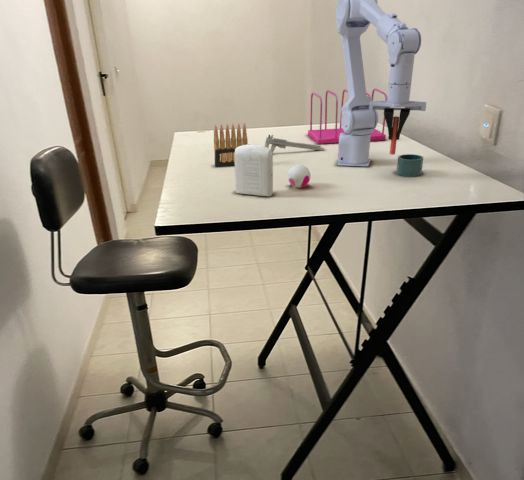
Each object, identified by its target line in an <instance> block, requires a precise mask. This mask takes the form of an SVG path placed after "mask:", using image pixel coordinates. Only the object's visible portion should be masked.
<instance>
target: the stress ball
mask: <svg viewBox="0 0 524 480" xmlns="http://www.w3.org/2000/svg"><path fill="white" fill-rule="evenodd" d="M287 180H288V183H289V187H291V186H292V187H294V188H296V189H302V188H310V186H309V185H308V184H309V183H310V181H311V171H310V169H309V168H308V167H307V166H306V165H304V164H295V165H293V166H292V167H290V169H289V170H288V173H287Z"/></svg>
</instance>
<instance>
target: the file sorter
mask: <svg viewBox="0 0 524 480" xmlns="http://www.w3.org/2000/svg"><path fill="white" fill-rule="evenodd" d="M345 92H346V93H347V94H348V89H347V88H344V89H343V90H342V95H341V105H340V109H341V108H342V107H343V105H344V98H345ZM375 92H378V93H380V94H382V95H384V101H387V95H388V93H386V92H384V91H383V90H380V89H378V88H377V87H375V88H373V89H372V92H371V94H370V93H369V92H367V91H366V95H367V96H368V97H369V98H370V99H372V100H373V101H374V95H375ZM328 94H331V95H333V96H334V97H335V124H334V125H335V127H334V128H328V127H327V124H328V123H327V122H328V121H327V120H328ZM314 96H315V97H317V98H318V99H319V102H320V106H319V107H320V108H319V110H320V111H319V129H313V97H314ZM324 100H325V104H324V128H322V125H323V124H322V123H323V99H322V96H321V95H319V94H318V93H316V92H314V91H313V92H311V94H310V113H309V114H310V115H309V116H310V121H309V128H310V129H308V130H307V135H308V136H309V137H310V138H311V139H312V140H313V141H314V142H315V143H316V144H317V145H322V144H337V143H339V136H340V133H345V132H344V130H343V128H342V126H341V117H342V111H341V110H340V117H339V118H340V120H339V128H338V113H339V111H338V109H339V105H338V104H339V99H338V95H337V93H335V92H333V91H331V90H329V89H328V90H326V91H325V98H324ZM385 127H386V120H385V117H384V116H383V121H382V129H381V130H382V131H379V130H378V129H376V128H375V129H374V130H373V133H371V137H370V142H372V141H373V142H374V141H386V140H387V134H385Z"/></svg>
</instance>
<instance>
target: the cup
mask: <svg viewBox="0 0 524 480" xmlns="http://www.w3.org/2000/svg"><path fill="white" fill-rule="evenodd" d="M423 164H424V156H422V155H419V154H414V153H413V154H412V153H407V154H406V153H405V154H400V155H398V156H397V163H396V174H397V175H399V176H402V177H418V176H421V175H422V173H423V172H422V171H423Z"/></svg>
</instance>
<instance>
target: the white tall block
mask: <svg viewBox="0 0 524 480" xmlns="http://www.w3.org/2000/svg"><path fill="white" fill-rule="evenodd" d="M273 157H274V154H273V153H272V150H271V148H270V147H269V148H267V147H265V145H262V144H261V145H260V144H256V143H255V144H254V143H251V144H247V145H242V146H239V147H237V148H236V149H235V154H234V160H235V166H234V181H235V193H236V194H242V195H251V196H261V197H271V196H273V195H274V158H273Z"/></svg>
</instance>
